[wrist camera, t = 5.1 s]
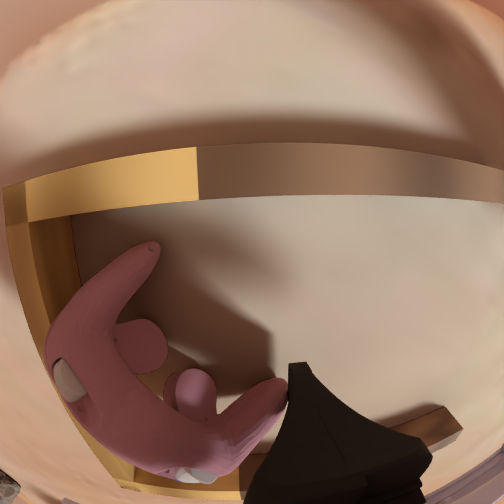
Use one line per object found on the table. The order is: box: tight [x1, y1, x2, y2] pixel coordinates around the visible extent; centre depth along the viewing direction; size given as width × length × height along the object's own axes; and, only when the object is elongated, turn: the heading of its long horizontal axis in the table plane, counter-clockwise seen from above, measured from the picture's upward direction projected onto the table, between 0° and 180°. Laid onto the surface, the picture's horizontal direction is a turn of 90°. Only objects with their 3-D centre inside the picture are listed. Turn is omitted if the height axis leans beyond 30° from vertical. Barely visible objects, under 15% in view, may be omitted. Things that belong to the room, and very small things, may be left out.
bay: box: [3, 143, 504, 500], centre depth 11 cm, size 24×18×3 cm
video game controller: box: [43, 241, 288, 484], centre depth 9 cm, size 10×5×7 cm, turn 38°
